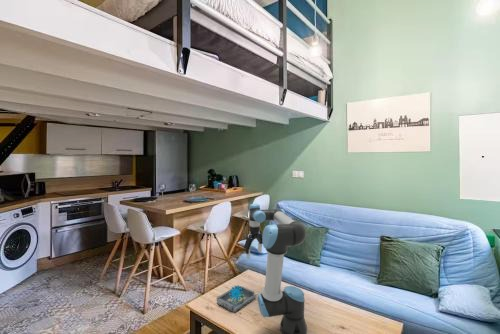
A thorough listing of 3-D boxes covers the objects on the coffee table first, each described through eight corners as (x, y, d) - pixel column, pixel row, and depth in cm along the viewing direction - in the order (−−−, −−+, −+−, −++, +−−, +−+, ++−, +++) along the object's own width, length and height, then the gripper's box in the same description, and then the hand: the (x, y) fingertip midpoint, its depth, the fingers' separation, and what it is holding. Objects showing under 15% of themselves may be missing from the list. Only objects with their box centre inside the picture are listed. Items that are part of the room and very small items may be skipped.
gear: (226, 297, 170) (232, 282, 176) (228, 299, 174) (234, 285, 180) (240, 303, 165) (246, 288, 171) (242, 306, 169) (248, 291, 175)
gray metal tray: (256, 298, 175) (256, 292, 175) (234, 314, 157) (234, 307, 157) (238, 290, 185) (238, 284, 185) (215, 303, 167) (215, 298, 167)
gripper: (260, 221, 190) (260, 249, 190) (238, 228, 170) (238, 259, 171) (268, 223, 185) (268, 251, 186) (247, 230, 166) (247, 262, 166)
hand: (254, 255), depth 178 cm, fingers open, 13 cm apart
